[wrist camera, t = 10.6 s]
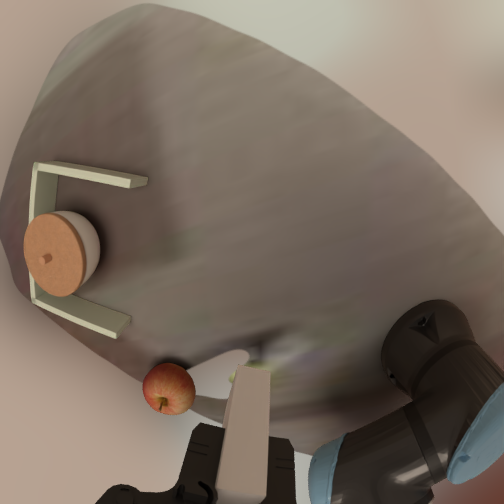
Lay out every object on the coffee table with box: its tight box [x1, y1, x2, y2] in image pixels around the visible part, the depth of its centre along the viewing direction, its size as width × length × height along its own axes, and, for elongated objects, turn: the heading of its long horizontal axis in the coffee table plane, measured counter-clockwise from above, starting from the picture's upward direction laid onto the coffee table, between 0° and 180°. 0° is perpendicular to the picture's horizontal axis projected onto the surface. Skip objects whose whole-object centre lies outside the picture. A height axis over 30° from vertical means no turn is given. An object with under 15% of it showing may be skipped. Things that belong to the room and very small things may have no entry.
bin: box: [29, 161, 148, 339], centre depth 35 cm, size 16×21×5 cm
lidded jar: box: [24, 211, 100, 297], centre depth 33 cm, size 11×11×9 cm
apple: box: [143, 363, 196, 415], centre depth 39 cm, size 8×8×8 cm
